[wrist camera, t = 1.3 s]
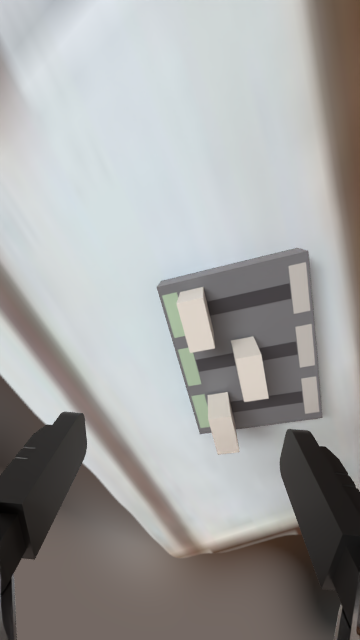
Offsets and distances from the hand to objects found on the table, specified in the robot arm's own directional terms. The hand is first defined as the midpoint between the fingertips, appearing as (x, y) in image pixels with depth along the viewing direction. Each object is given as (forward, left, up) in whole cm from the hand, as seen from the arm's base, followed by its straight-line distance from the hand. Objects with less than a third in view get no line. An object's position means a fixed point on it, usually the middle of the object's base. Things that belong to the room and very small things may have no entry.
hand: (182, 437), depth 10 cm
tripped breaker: (-4, +7, -17) cm, 19 cm away
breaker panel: (-4, +7, -21) cm, 22 cm away
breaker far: (0, +14, -17) cm, 22 cm away
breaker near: (0, +1, -17) cm, 17 cm away
